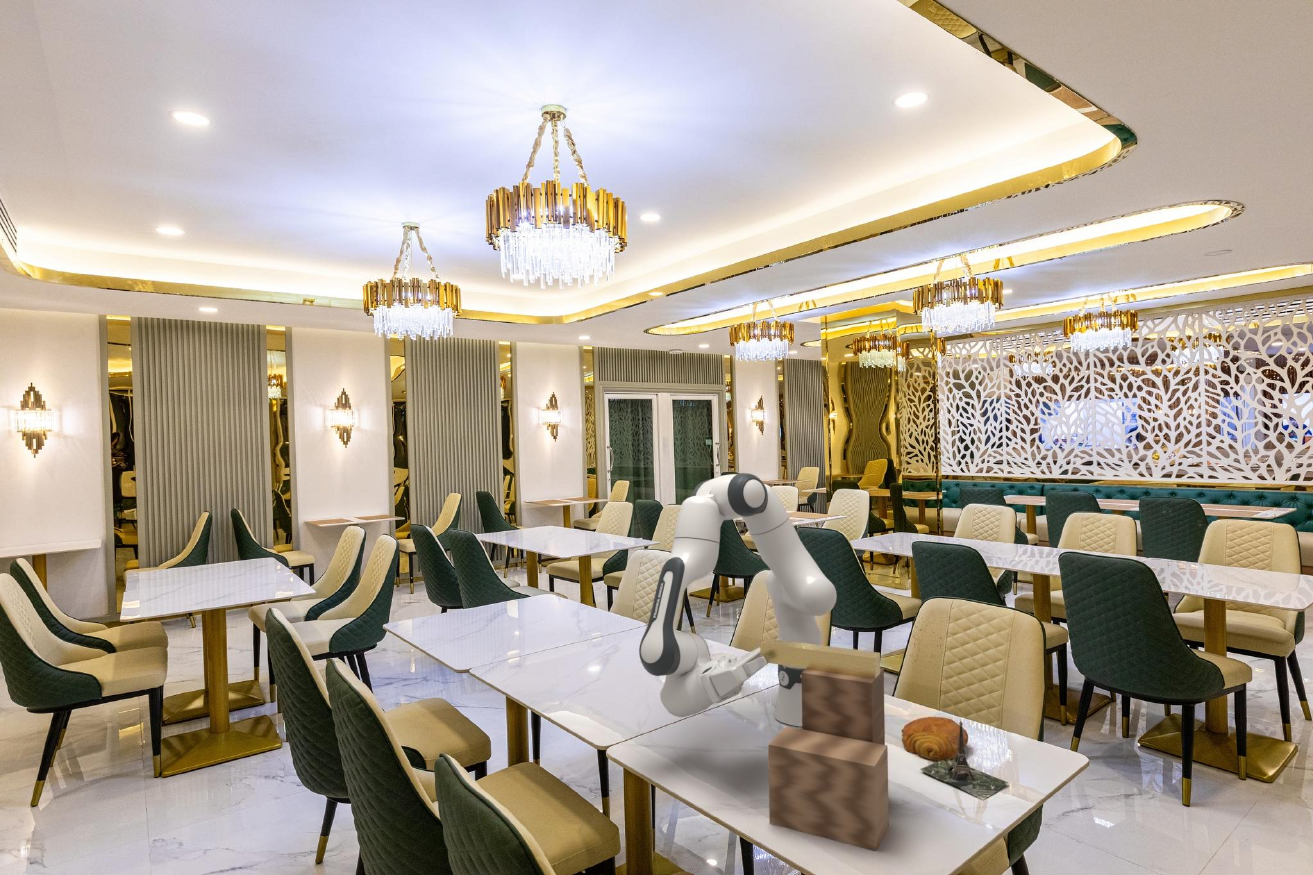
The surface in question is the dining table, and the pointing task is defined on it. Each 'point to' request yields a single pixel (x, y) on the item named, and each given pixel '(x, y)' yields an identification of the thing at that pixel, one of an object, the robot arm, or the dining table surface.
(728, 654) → the white cup
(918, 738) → the croissant
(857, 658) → the rail
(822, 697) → the stand
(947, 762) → the eiffel tower figurine
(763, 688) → the dining table surface
